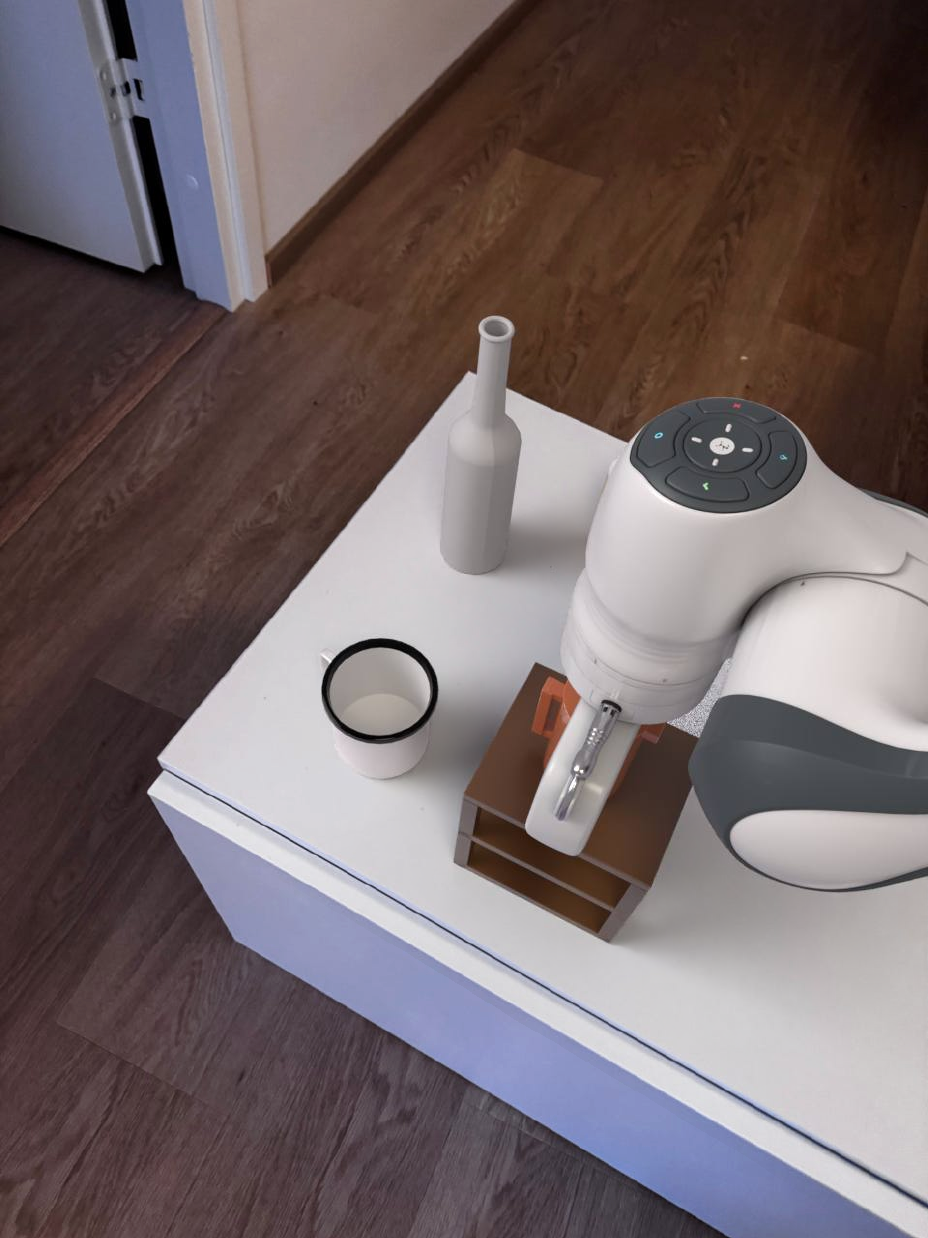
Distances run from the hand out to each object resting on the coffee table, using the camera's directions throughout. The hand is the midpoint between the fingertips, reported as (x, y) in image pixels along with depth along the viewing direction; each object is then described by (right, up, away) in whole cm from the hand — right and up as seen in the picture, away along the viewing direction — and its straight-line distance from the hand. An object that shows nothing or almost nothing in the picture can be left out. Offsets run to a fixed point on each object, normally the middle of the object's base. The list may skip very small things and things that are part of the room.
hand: (599, 746), depth 66 cm
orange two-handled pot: (-1, -2, +3) cm, 4 cm away
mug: (-17, -1, +21) cm, 27 cm away
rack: (-1, -10, +16) cm, 19 cm away
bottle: (-8, +16, +32) cm, 36 cm away
